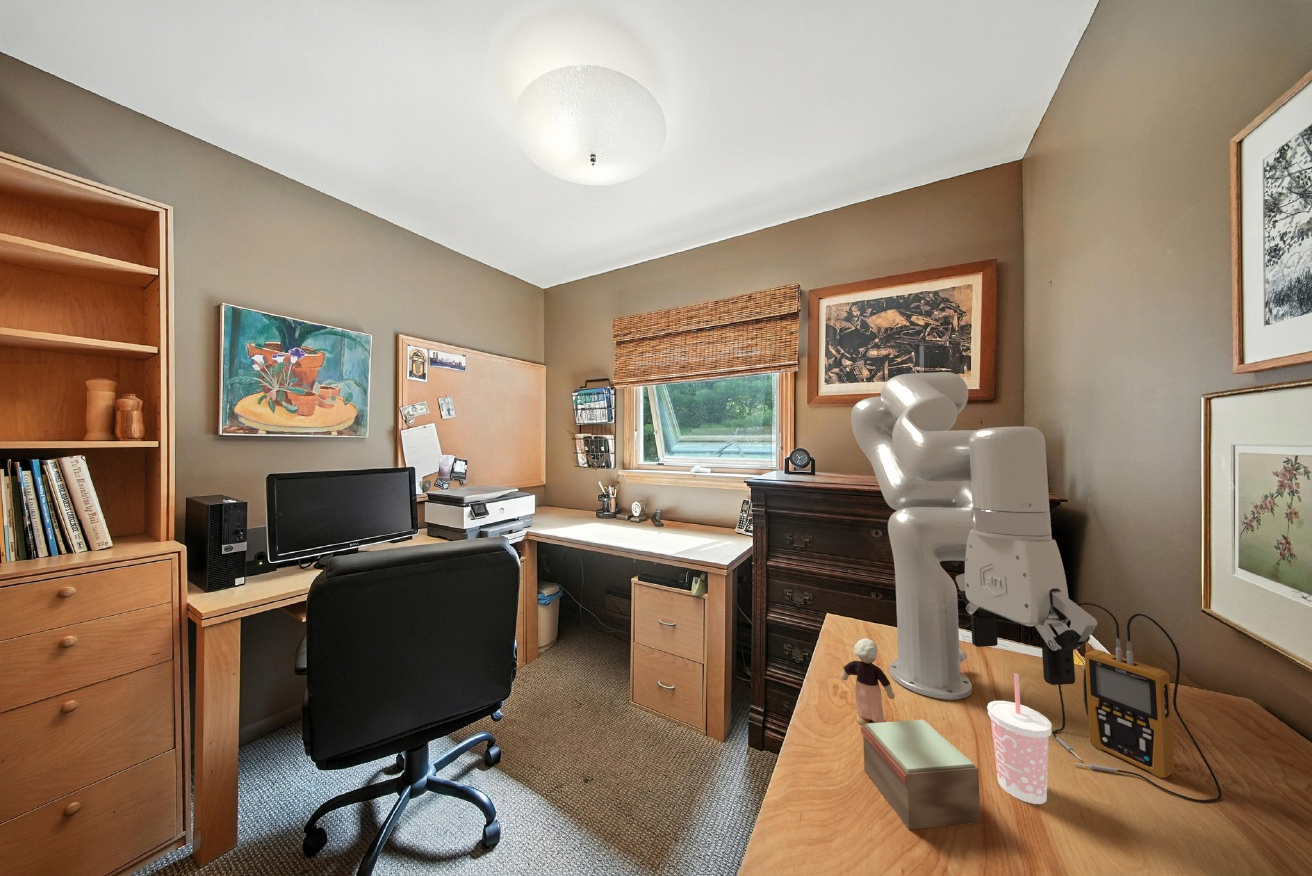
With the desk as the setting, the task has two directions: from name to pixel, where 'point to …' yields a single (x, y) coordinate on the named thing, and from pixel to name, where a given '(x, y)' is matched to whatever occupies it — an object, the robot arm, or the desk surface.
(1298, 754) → the desk surface
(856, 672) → the grandmother figurine
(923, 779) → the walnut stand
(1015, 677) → the beverage cup
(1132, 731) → the multimeter
